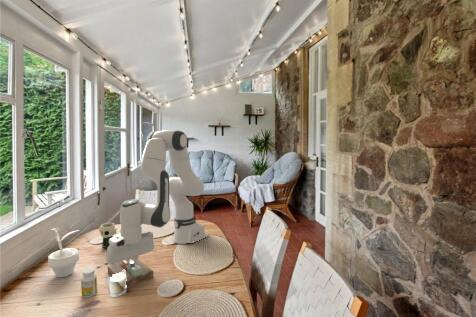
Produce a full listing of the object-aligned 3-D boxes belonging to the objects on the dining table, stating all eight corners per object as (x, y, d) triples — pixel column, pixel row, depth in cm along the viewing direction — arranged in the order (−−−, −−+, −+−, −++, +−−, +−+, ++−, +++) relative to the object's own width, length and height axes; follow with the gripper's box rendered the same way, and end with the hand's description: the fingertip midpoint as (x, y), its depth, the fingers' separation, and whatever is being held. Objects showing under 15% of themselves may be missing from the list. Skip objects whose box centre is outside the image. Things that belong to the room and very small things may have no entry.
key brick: (130, 264, 119) (130, 258, 119) (133, 267, 117) (133, 260, 117) (122, 267, 117) (122, 260, 117) (125, 270, 114) (125, 263, 114)
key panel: (135, 262, 127) (135, 256, 126) (153, 277, 114) (153, 271, 113) (107, 272, 117) (107, 266, 117) (124, 289, 104) (124, 282, 104)
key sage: (138, 272, 113) (138, 265, 113) (142, 275, 111) (141, 268, 110) (131, 275, 111) (130, 268, 110) (134, 278, 108) (134, 270, 108)
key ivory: (126, 261, 122) (126, 255, 122) (129, 264, 120) (129, 257, 120) (119, 264, 120) (118, 257, 120) (121, 266, 118) (121, 260, 117)
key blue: (134, 270, 116) (134, 263, 116) (137, 272, 114) (137, 266, 114) (126, 272, 114) (126, 266, 113) (130, 275, 111) (129, 268, 111)
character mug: (95, 248, 142) (94, 226, 141) (104, 243, 149) (103, 221, 148) (112, 250, 140) (111, 227, 139) (120, 245, 147) (120, 223, 146)
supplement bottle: (90, 288, 105) (90, 266, 104) (100, 291, 103) (99, 268, 102) (78, 295, 100) (77, 272, 99) (87, 299, 98) (86, 275, 97)
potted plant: (46, 284, 108) (43, 227, 106) (51, 271, 118) (48, 219, 116) (81, 276, 113) (78, 222, 111) (83, 265, 124) (81, 215, 122)
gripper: (149, 228, 122) (150, 256, 123) (104, 240, 107) (105, 271, 108) (156, 232, 118) (156, 260, 119) (110, 245, 103) (110, 277, 104)
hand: (131, 266), depth 113 cm, fingers closed, pressing on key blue
